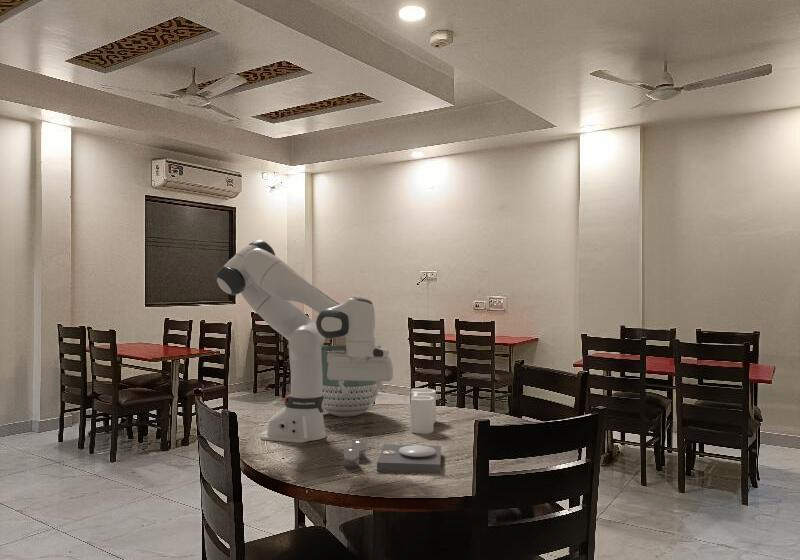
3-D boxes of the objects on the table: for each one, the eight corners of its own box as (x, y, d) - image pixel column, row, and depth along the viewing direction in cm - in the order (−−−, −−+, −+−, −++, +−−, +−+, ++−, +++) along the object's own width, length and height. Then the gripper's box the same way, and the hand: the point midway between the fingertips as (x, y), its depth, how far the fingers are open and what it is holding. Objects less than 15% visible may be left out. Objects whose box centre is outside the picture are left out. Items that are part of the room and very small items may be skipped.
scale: (377, 471, 178) (377, 458, 178) (384, 452, 198) (384, 440, 198) (440, 473, 177) (440, 460, 177) (440, 454, 197) (440, 442, 197)
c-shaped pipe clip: (435, 434, 224) (435, 400, 224) (408, 433, 224) (408, 399, 224) (435, 419, 249) (435, 388, 249) (411, 418, 249) (411, 388, 249)
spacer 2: (350, 459, 190) (351, 443, 190) (353, 455, 194) (353, 439, 194) (365, 460, 190) (365, 443, 190) (367, 456, 194) (367, 440, 194)
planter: (313, 408, 266) (314, 345, 266) (376, 407, 269) (377, 345, 269) (311, 422, 239) (312, 352, 239) (381, 421, 242) (382, 352, 242)
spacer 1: (342, 468, 181) (342, 451, 181) (345, 463, 185) (345, 447, 185) (357, 468, 181) (358, 451, 181) (359, 464, 185) (360, 447, 185)
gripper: (325, 350, 190) (324, 396, 190) (392, 351, 188) (391, 397, 188) (329, 348, 196) (328, 392, 196) (393, 349, 194) (393, 394, 194)
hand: (360, 395), depth 192 cm, fingers open, 8 cm apart
